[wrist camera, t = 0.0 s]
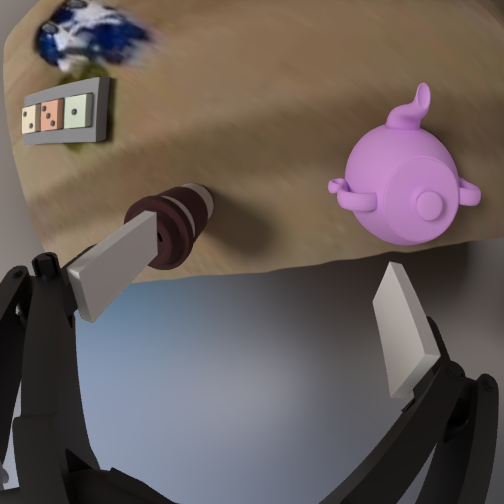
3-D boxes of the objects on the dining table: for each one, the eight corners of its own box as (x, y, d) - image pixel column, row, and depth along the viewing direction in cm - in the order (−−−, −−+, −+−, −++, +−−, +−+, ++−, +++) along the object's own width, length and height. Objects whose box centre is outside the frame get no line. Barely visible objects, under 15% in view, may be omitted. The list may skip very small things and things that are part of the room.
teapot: (449, 96, 28) (500, 94, 16) (452, 226, 37) (491, 268, 25) (313, 95, 33) (315, 83, 21) (331, 235, 43) (337, 283, 31)
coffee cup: (166, 223, 48) (119, 265, 35) (169, 170, 43) (114, 196, 30) (218, 236, 47) (182, 285, 34) (226, 180, 42) (186, 212, 29)
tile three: (51, 101, 38) (40, 103, 35) (68, 98, 38) (56, 99, 35) (50, 128, 41) (39, 131, 38) (67, 127, 41) (55, 129, 38)
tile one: (76, 96, 37) (64, 97, 34) (97, 93, 37) (85, 94, 34) (74, 126, 40) (63, 128, 37) (95, 124, 40) (83, 127, 37)
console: (34, 94, 39) (25, 96, 37) (110, 77, 36) (99, 76, 34) (33, 142, 45) (24, 145, 43) (106, 139, 42) (95, 141, 40)
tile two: (32, 106, 39) (21, 108, 36) (45, 103, 39) (34, 105, 36) (31, 131, 42) (21, 133, 39) (44, 129, 42) (33, 132, 39)
